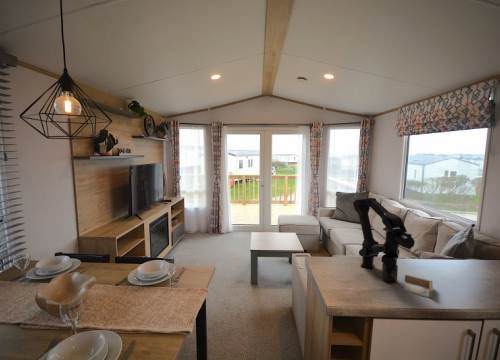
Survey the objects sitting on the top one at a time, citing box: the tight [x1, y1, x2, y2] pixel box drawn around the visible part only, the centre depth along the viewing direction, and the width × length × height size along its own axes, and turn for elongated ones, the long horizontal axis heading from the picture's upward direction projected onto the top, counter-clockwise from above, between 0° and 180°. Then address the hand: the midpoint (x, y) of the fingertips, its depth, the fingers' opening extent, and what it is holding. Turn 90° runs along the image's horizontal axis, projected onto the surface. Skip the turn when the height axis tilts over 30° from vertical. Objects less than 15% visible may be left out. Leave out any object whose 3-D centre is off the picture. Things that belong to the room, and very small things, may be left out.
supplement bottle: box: [381, 262, 399, 285], centre depth 122 cm, size 7×7×12 cm
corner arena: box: [402, 274, 434, 300], centre depth 115 cm, size 11×11×4 cm
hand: (389, 271), depth 123 cm, fingers closed on supplement bottle, 7 cm apart
